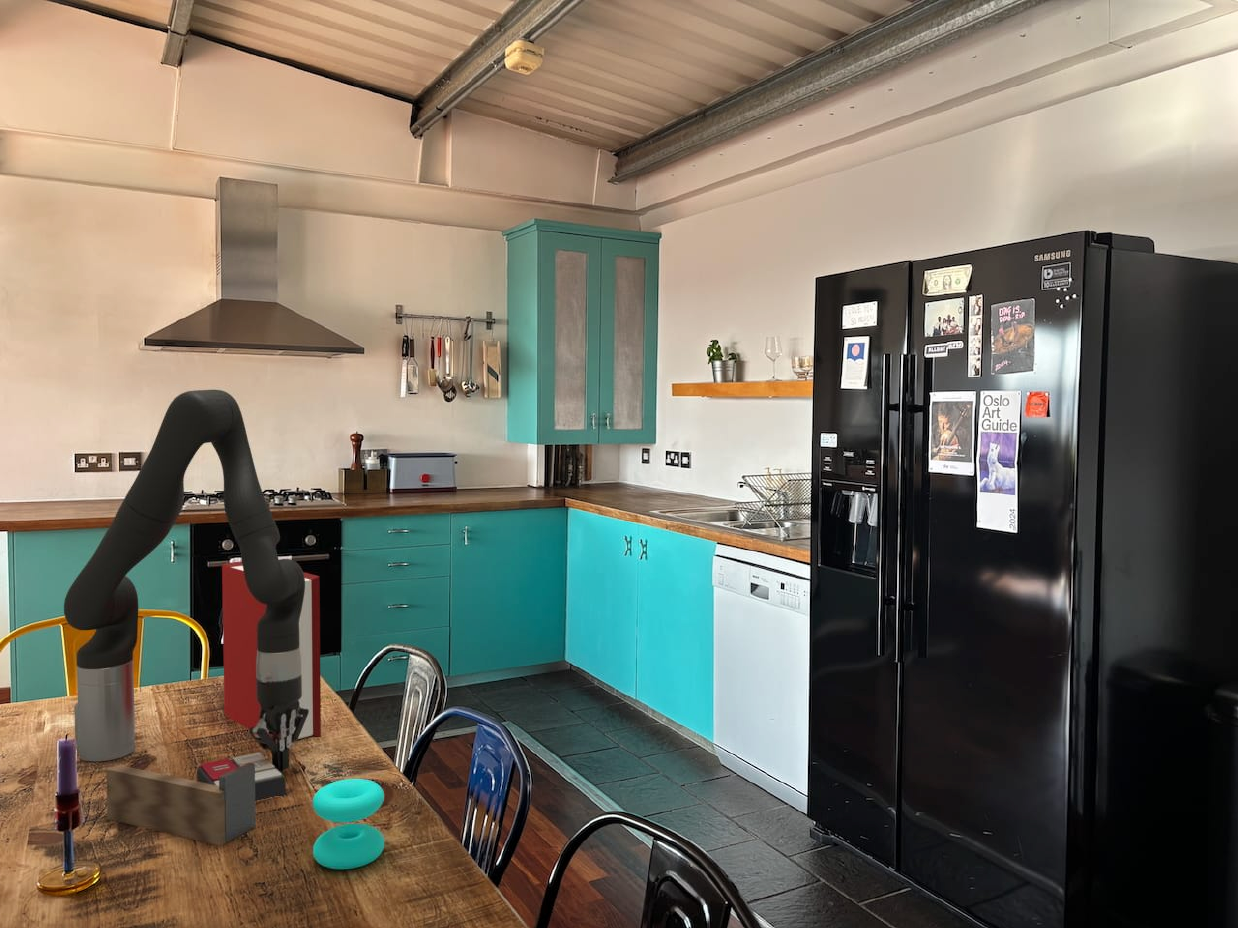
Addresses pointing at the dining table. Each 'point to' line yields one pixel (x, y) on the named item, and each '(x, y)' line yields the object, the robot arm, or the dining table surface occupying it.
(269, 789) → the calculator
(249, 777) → the bookend
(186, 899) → the dining table surface
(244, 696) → the book
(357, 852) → the donuts
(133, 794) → the mottled stone block
